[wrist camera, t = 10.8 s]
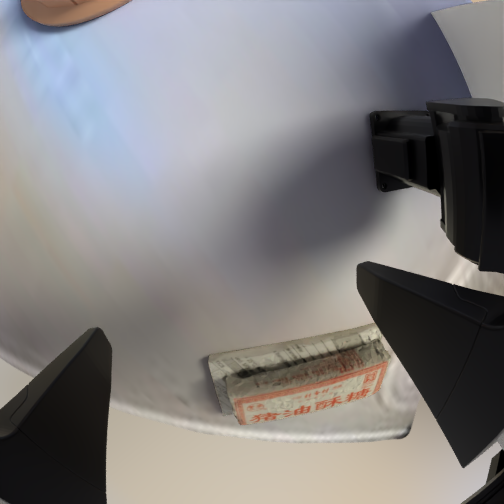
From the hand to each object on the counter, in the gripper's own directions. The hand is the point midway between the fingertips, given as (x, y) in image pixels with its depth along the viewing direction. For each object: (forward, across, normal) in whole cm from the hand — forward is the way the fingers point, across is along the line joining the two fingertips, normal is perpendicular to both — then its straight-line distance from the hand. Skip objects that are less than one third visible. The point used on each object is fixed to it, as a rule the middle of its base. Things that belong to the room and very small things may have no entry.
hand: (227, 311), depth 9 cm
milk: (+12, -31, -13) cm, 36 cm away
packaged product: (+13, -4, +19) cm, 23 cm away
